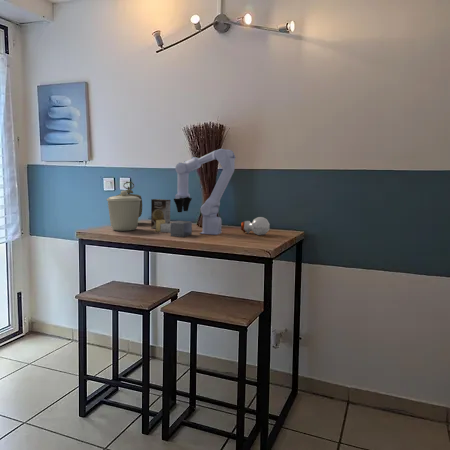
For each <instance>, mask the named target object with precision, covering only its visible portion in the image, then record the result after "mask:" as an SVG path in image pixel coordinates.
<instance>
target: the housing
mask: <svg viewBox="0 0 450 450" xmlns="http://www.w3.org/2000/svg"><path fill="white" fill-rule="evenodd" d="M170 224H171V233H170V237H175V238H176V237H178V238H185V237H188V236H191V235H192V234H193V231H192V230H193V221H187V220H177V221H172V222H170Z"/></svg>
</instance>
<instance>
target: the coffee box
mask: <svg viewBox="0 0 450 450" xmlns="http://www.w3.org/2000/svg"><path fill="white" fill-rule="evenodd" d="M150 200H151V202H150V203H151V205H150V207H151V211H150V214H151V215H150V216H151V217H150V218H151V219H150V225H151V226H150V229H156V220H161V219H163V220H165V223H170V224H171V202H172V201H171V199H165V198H164V199H162V198H151V199H150Z"/></svg>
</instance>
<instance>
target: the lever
mask: <svg viewBox="0 0 450 450" xmlns="http://www.w3.org/2000/svg"><path fill="white" fill-rule="evenodd" d="M155 232H156V233H157V232H158V233H159V232H161V233H169V234H171V222H170V223H165V220H163V219H161V220H156V228H155Z"/></svg>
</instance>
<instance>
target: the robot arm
mask: <svg viewBox="0 0 450 450" xmlns="http://www.w3.org/2000/svg"><path fill="white" fill-rule="evenodd" d="M214 160H217V162H218V163H219V164H220V166H221V168H222V171H221V173H220V175H219V178H218V179H217V181H216V184H215V185H214V188H213V189H212V191H211V194H210V196H209V197H208V198H207V199H206V200H205V202H204V203H203V204H202V205H201V206H200V209H199V210H200V213H201V215H202V231H201V232H199V234H201V235H216V236H217V235H220V234H222V233H223V232H222V217H220V216H217V215H218V213H219V211H220V205H221V202H220V201H221V199H222V196H223V194H224V192H225V190H226V188H227V187H228V184H229V182H230V181H231V179H232V176H233V174H234V173H235V163H236V162H235V160H236V155H235V153H234V151H233V150H232V149H224V148H219V149H216V150H215V149H214V150H213V151H211V152H209V153H207V154H205V155H203V156H201V157H196V156H192V157H191V159H188V160H183V161H184V162H178V163H177V164H175V165H176V166H175V172H176V174H177V193H176V194H175V198H173V202H174V203H175V206H176V210H177V213H182V212H188V211H189V207H190V204H191V201H192V200H193V198H192V197H191V194H190V193H189V177H190V176H189V175H190V172H193V171H194V170H197V169H199V168H201V167H202V165H204V164H205V163H209V162H211V161H214Z"/></svg>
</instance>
